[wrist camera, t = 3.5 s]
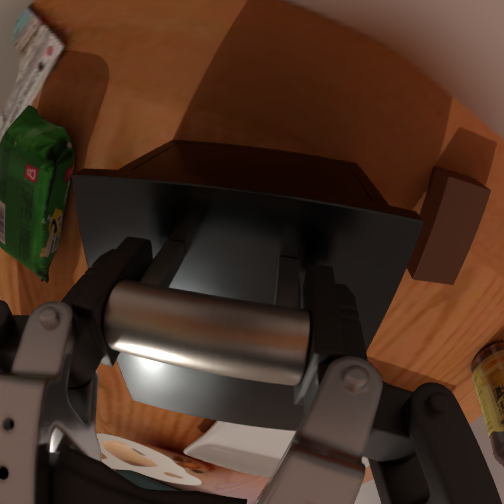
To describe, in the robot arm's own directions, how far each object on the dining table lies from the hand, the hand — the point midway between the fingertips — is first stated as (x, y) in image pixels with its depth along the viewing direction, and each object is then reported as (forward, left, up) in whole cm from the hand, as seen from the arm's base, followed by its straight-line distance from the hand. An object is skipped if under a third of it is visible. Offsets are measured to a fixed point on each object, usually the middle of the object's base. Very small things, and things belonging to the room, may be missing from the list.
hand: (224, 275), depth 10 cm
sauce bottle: (+16, +30, -12) cm, 36 cm away
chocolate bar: (+1, +14, -12) cm, 19 cm away
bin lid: (+5, 0, -2) cm, 6 cm away
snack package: (+3, -19, -12) cm, 23 cm away
